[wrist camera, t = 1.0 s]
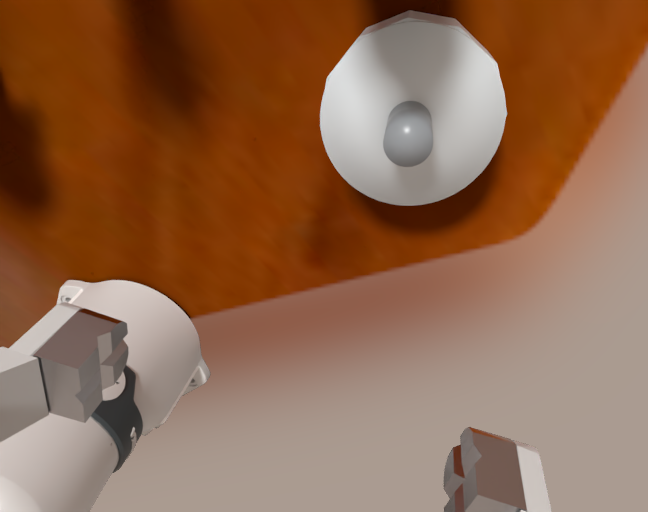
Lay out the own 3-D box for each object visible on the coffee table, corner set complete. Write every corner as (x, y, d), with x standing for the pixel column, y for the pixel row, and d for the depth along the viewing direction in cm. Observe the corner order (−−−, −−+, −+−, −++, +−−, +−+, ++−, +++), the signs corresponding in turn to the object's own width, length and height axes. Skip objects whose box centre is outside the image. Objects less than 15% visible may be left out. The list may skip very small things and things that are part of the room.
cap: (412, 201, 39) (410, 265, 31) (303, 108, 36) (269, 150, 28) (529, 92, 33) (564, 135, 25) (409, -28, 31) (404, -25, 22)
